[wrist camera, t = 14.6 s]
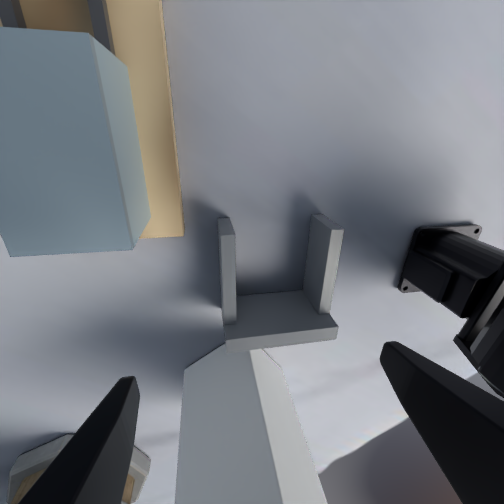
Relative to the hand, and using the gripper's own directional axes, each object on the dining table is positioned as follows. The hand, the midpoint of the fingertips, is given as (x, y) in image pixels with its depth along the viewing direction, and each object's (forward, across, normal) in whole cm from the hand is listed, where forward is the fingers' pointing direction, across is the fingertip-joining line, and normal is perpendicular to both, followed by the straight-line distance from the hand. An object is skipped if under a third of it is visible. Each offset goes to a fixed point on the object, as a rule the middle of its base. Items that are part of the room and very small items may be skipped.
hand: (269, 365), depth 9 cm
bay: (+12, -3, +2) cm, 12 cm away
